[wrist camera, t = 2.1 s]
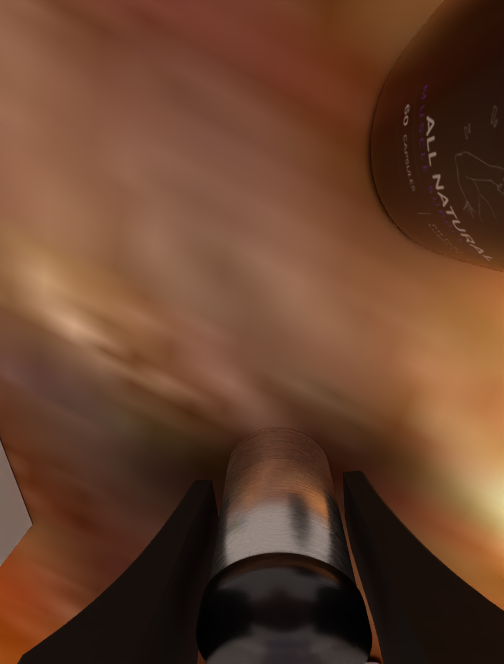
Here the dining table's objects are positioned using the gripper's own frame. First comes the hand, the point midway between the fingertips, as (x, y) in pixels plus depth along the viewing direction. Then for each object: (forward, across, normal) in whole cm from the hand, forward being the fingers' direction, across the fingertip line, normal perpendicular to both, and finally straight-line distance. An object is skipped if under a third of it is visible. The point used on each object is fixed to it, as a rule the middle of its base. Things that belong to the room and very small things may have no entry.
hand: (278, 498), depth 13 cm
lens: (+1, 0, 0) cm, 1 cm away
